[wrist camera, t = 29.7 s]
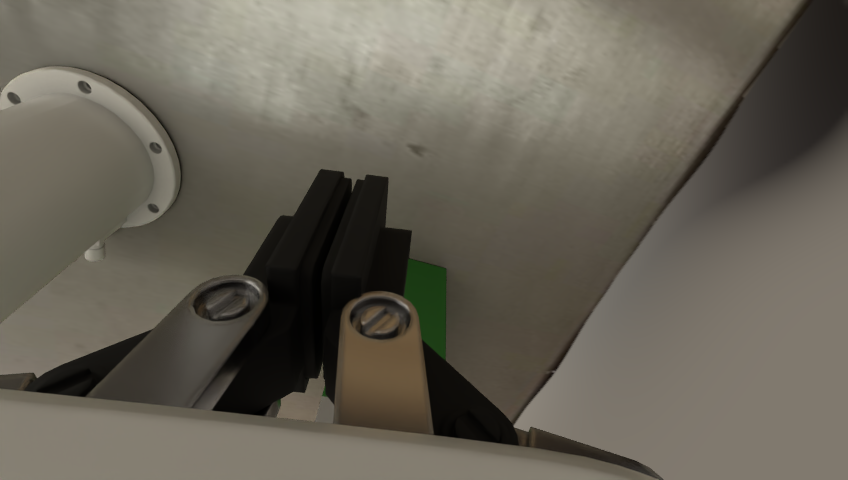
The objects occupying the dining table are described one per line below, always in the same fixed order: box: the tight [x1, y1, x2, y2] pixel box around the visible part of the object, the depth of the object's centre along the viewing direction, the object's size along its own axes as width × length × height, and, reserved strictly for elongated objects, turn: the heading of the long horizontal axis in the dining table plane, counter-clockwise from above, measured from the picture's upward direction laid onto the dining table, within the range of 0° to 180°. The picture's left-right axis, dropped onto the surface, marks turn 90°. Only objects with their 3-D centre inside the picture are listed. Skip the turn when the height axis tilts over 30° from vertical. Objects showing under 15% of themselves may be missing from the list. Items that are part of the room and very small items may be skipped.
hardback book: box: [315, 259, 446, 424], centre depth 33 cm, size 18×7×24 cm, turn 164°
